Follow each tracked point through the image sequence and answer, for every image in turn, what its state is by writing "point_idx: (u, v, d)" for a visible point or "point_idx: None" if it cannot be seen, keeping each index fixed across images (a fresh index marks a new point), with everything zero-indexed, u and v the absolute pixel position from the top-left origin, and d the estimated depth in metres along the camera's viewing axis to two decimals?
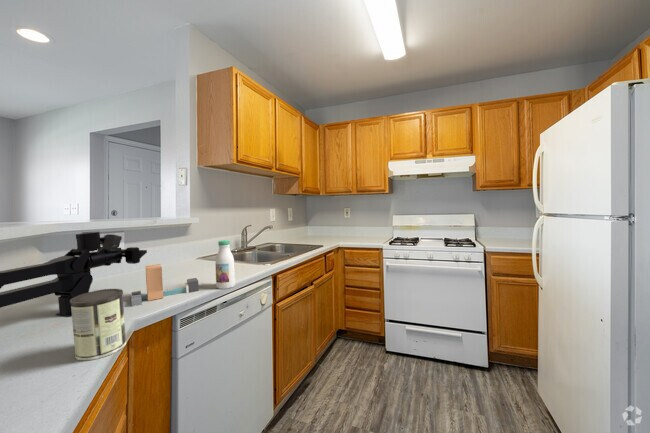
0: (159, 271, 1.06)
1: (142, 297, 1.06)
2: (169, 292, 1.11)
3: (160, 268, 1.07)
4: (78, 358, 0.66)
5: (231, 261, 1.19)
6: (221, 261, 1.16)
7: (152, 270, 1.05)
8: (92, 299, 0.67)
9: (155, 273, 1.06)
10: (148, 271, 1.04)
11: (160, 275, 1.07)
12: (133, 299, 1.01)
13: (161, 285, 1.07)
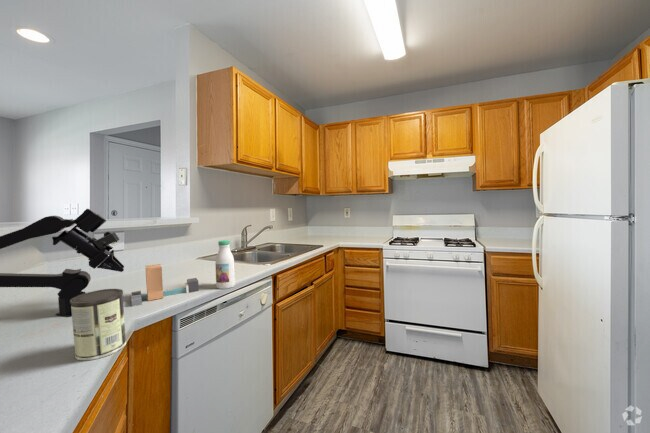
0: (159, 271, 1.06)
1: (142, 297, 1.06)
2: (169, 292, 1.11)
3: (160, 268, 1.07)
4: (78, 358, 0.66)
5: (231, 261, 1.19)
6: (221, 261, 1.16)
7: (152, 270, 1.05)
8: (92, 299, 0.67)
9: (155, 273, 1.06)
10: (148, 271, 1.04)
11: (160, 275, 1.07)
12: (133, 299, 1.01)
13: (161, 285, 1.07)
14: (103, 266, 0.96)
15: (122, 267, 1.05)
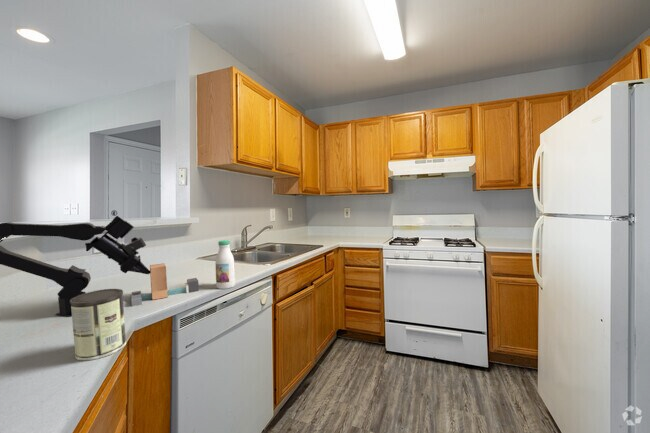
0: (164, 271, 1.07)
1: (142, 297, 1.06)
2: (169, 292, 1.11)
3: (164, 267, 1.07)
4: (78, 358, 0.66)
5: (231, 261, 1.19)
6: (221, 261, 1.16)
7: (156, 269, 1.06)
8: (92, 299, 0.67)
9: (159, 272, 1.06)
10: (153, 270, 1.05)
11: (164, 274, 1.07)
12: (133, 299, 1.01)
13: (165, 284, 1.08)
14: (132, 269, 1.03)
15: None
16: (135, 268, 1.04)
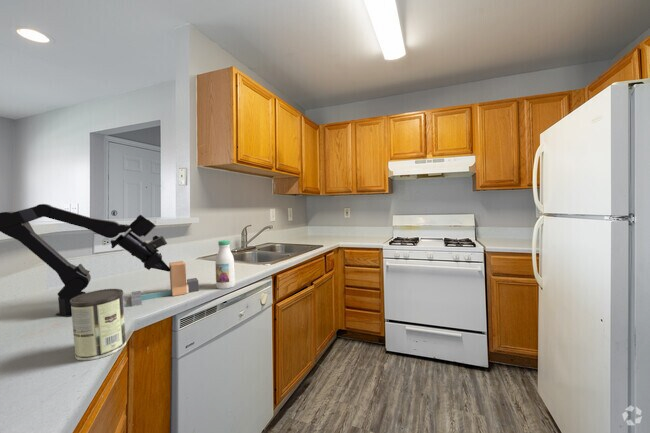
0: (183, 268, 1.11)
1: (142, 297, 1.06)
2: (169, 292, 1.11)
3: (184, 265, 1.11)
4: (78, 358, 0.66)
5: (231, 261, 1.19)
6: (221, 261, 1.17)
7: (176, 267, 1.10)
8: (92, 299, 0.67)
9: (179, 270, 1.10)
10: (173, 268, 1.09)
11: (184, 271, 1.11)
12: (133, 299, 1.01)
13: (185, 281, 1.12)
14: (154, 266, 1.07)
15: None
16: (156, 265, 1.07)
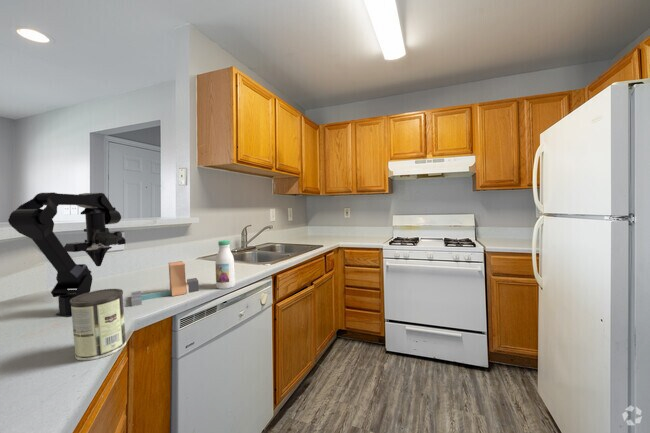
0: (183, 268, 1.11)
1: (142, 297, 1.06)
2: (169, 292, 1.11)
3: (183, 265, 1.11)
4: (78, 358, 0.66)
5: (231, 261, 1.19)
6: (221, 261, 1.17)
7: (176, 267, 1.10)
8: (92, 299, 0.67)
9: (179, 270, 1.10)
10: (172, 268, 1.09)
11: (183, 272, 1.11)
12: (133, 299, 1.01)
13: (184, 281, 1.11)
14: (88, 252, 1.05)
15: None
16: (91, 253, 1.06)
